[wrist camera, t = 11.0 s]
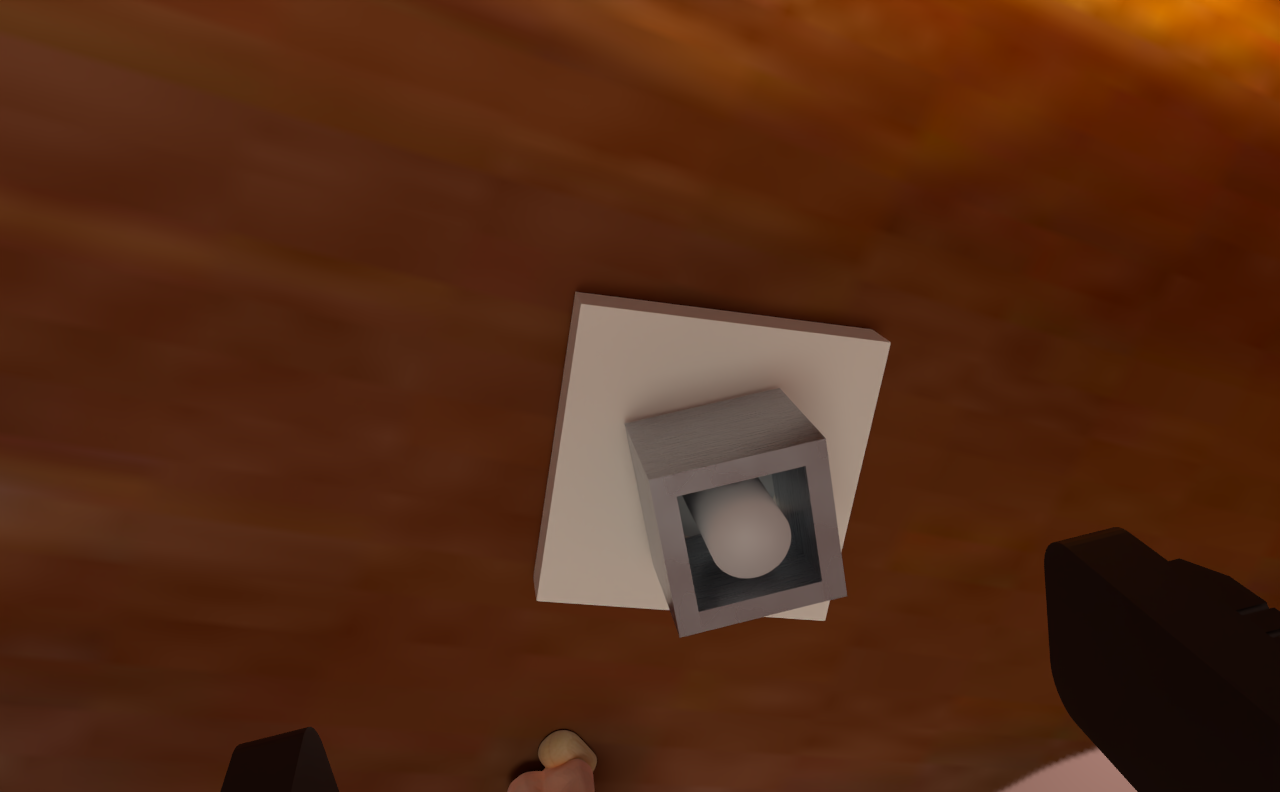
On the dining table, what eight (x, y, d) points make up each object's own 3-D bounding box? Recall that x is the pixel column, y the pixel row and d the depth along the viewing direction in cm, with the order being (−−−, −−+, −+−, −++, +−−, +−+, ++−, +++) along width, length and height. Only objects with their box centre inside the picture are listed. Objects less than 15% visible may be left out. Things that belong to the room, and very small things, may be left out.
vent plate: (533, 577, 44) (548, 687, 37) (575, 291, 41) (601, 348, 33) (810, 597, 47) (877, 704, 39) (872, 329, 43) (958, 390, 36)
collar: (624, 423, 40) (648, 480, 35) (779, 387, 41) (825, 438, 36) (652, 564, 42) (679, 637, 37) (800, 528, 43) (847, 595, 38)
